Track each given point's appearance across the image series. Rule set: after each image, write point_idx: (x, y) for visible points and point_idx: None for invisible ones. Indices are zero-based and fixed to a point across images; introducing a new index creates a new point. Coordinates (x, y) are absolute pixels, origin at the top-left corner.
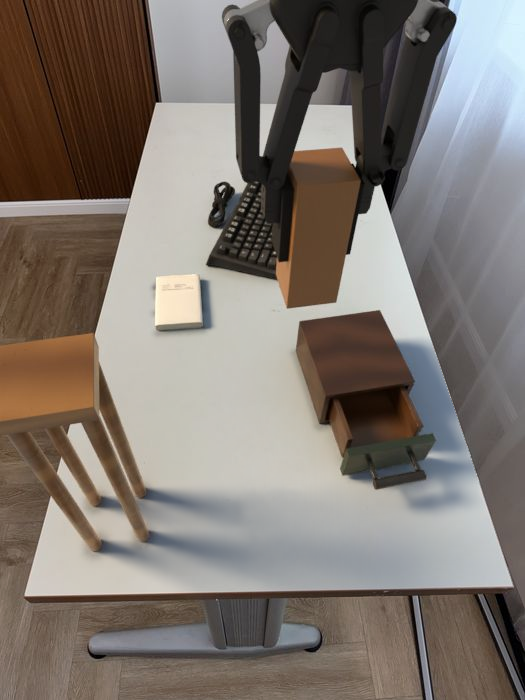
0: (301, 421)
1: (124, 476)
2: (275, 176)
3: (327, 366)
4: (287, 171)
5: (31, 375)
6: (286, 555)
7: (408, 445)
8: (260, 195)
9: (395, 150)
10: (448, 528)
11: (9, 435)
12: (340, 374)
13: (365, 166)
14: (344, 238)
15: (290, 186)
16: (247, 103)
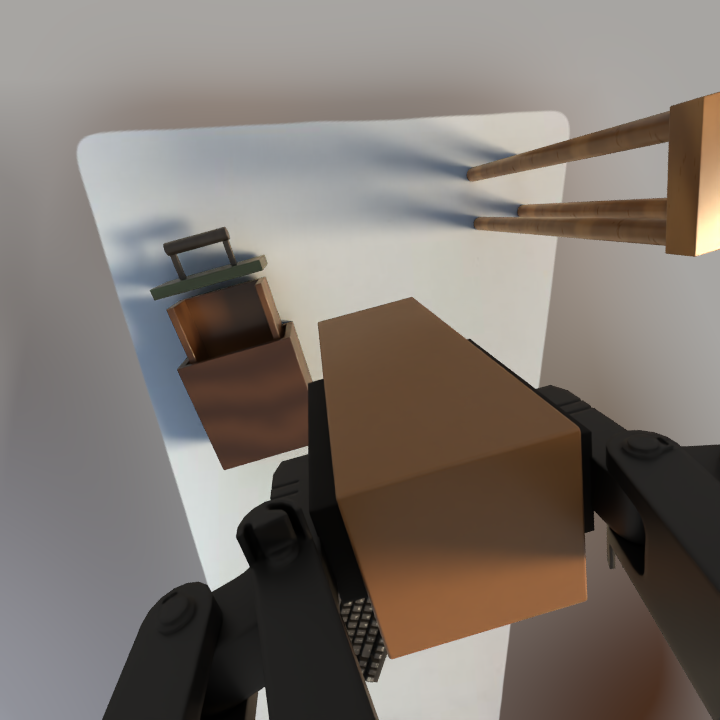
0: (312, 322)
1: (545, 155)
2: (662, 460)
3: (288, 379)
4: (636, 481)
5: None
6: (323, 158)
7: (185, 280)
8: (376, 622)
9: (191, 665)
10: (138, 199)
11: None
12: (272, 369)
13: (319, 569)
14: (337, 379)
15: None
16: None
